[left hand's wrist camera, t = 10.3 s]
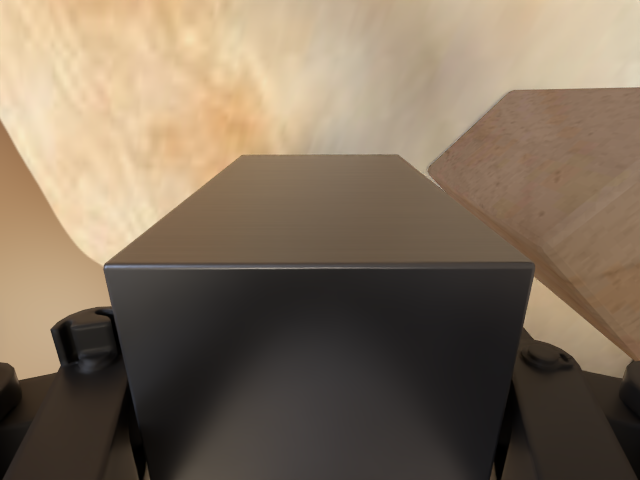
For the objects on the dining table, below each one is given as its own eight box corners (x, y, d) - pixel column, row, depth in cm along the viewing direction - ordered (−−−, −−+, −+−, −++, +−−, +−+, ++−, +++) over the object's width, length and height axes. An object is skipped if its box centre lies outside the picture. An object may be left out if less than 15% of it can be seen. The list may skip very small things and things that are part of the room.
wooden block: (574, 167, 36) (845, 244, 18) (488, 238, 39) (647, 372, 20) (511, 87, 34) (750, 79, 15) (424, 169, 36) (537, 248, 18)
